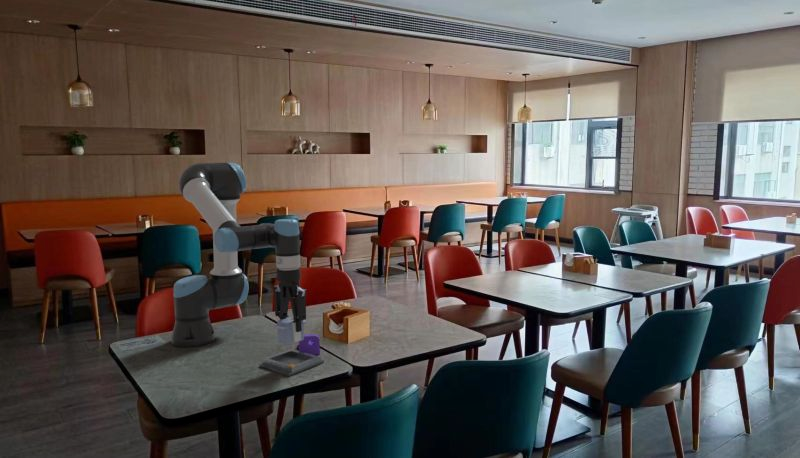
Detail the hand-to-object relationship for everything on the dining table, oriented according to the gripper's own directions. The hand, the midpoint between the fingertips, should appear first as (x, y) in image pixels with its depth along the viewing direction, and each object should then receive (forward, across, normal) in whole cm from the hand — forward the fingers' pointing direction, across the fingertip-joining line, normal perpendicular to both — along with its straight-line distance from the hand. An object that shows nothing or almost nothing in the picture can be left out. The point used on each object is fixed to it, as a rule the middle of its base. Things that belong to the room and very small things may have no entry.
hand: (291, 339), depth 193 cm
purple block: (+9, -7, +14) cm, 18 cm away
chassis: (+8, 0, 0) cm, 8 cm away
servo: (0, 0, 0) cm, 0 cm away
